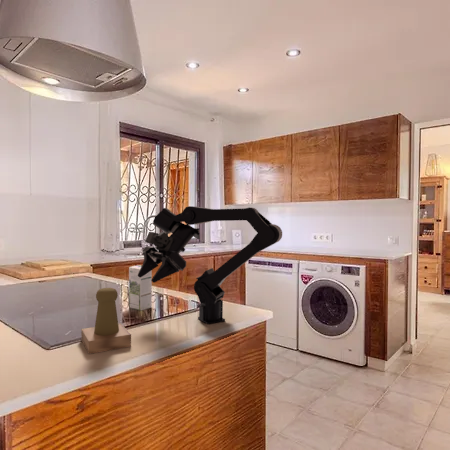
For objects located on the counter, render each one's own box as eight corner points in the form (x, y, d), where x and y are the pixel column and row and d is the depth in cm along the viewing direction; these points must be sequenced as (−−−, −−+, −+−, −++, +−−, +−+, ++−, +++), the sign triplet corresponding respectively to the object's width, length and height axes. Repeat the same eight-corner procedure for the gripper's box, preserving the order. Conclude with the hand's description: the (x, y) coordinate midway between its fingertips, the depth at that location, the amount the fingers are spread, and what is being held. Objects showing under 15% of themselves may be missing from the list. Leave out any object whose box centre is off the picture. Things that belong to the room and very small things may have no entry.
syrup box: (152, 307, 124) (152, 266, 124) (139, 311, 119) (140, 268, 119) (140, 304, 127) (141, 264, 127) (128, 308, 122) (128, 266, 122)
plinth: (120, 334, 97) (120, 323, 97) (131, 346, 88) (131, 334, 88) (81, 340, 92) (81, 328, 92) (88, 353, 83) (88, 341, 83)
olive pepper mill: (119, 334, 88) (120, 290, 88) (94, 336, 86) (94, 291, 86) (118, 326, 94) (118, 285, 94) (94, 328, 92) (94, 286, 91)
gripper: (148, 221, 115) (114, 257, 108) (177, 223, 100) (141, 265, 94) (169, 244, 120) (138, 280, 114) (200, 249, 105) (167, 291, 99)
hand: (145, 279), depth 105 cm, fingers open, 9 cm apart
